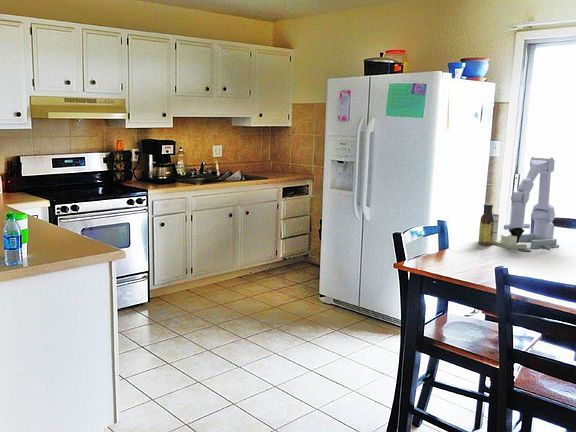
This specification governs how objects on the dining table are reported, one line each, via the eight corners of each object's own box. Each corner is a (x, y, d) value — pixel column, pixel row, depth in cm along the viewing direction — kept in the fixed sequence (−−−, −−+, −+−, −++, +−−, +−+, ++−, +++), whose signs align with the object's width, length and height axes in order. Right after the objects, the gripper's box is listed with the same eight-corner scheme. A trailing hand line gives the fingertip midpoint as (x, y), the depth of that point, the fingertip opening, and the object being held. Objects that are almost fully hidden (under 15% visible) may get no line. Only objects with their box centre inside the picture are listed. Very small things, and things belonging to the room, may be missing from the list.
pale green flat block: (509, 242, 272) (509, 239, 272) (526, 247, 262) (526, 244, 262) (492, 243, 269) (492, 240, 268) (509, 248, 258) (509, 245, 258)
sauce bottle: (492, 246, 262) (496, 205, 259) (479, 245, 263) (482, 204, 260) (490, 243, 269) (494, 203, 265) (477, 242, 270) (481, 203, 266)
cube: (508, 244, 268) (509, 234, 268) (516, 246, 264) (517, 236, 263) (500, 245, 266) (501, 235, 266) (508, 247, 262) (509, 237, 261)
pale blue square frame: (532, 240, 280) (533, 233, 280) (555, 246, 267) (556, 239, 267) (510, 241, 275) (510, 234, 274) (532, 248, 262) (533, 241, 261)
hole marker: (524, 248, 260) (524, 248, 260) (534, 251, 254) (534, 251, 254) (514, 249, 258) (514, 249, 258) (524, 252, 252) (524, 251, 252)
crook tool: (557, 246, 266) (557, 244, 266) (564, 248, 263) (564, 246, 263) (541, 247, 263) (542, 245, 263) (548, 249, 259) (548, 247, 259)
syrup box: (497, 242, 272) (500, 213, 269) (485, 242, 272) (487, 213, 269) (493, 240, 277) (495, 212, 275) (481, 239, 277) (484, 211, 275)
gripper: (512, 217, 258) (509, 245, 260) (535, 216, 263) (532, 244, 266) (501, 215, 264) (498, 242, 267) (524, 214, 270) (521, 241, 272)
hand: (515, 243), depth 267 cm, fingers closed
